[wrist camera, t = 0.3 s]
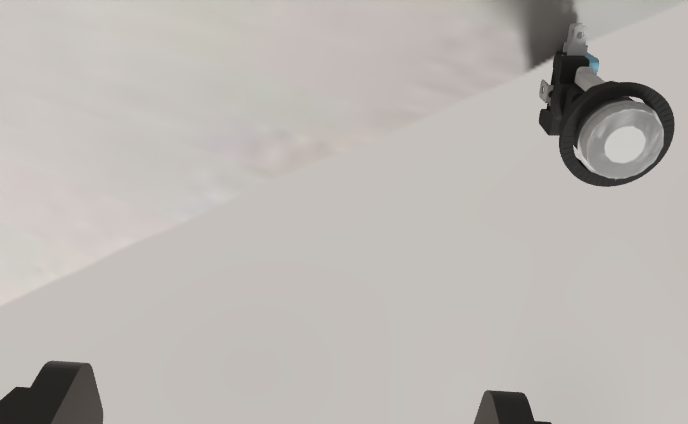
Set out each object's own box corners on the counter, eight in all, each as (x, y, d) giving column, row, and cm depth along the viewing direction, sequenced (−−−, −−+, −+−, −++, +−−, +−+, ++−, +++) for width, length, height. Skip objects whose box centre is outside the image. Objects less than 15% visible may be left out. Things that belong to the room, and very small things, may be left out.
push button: (530, 21, 34) (583, 60, 25) (620, 21, 33) (707, 60, 25) (515, 127, 37) (558, 194, 28) (597, 128, 37) (667, 196, 28)
